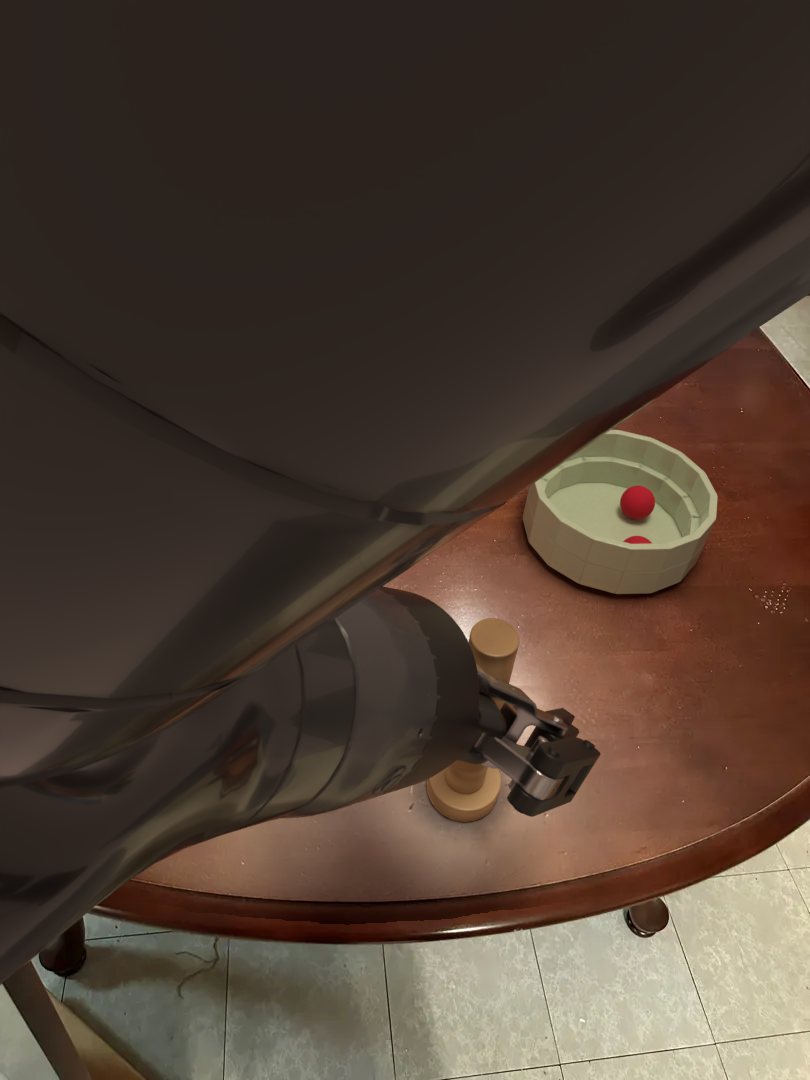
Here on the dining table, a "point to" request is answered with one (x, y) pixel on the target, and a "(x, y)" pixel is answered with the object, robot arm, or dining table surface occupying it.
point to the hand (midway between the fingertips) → (490, 681)
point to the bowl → (621, 515)
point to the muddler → (494, 648)
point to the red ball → (637, 540)
